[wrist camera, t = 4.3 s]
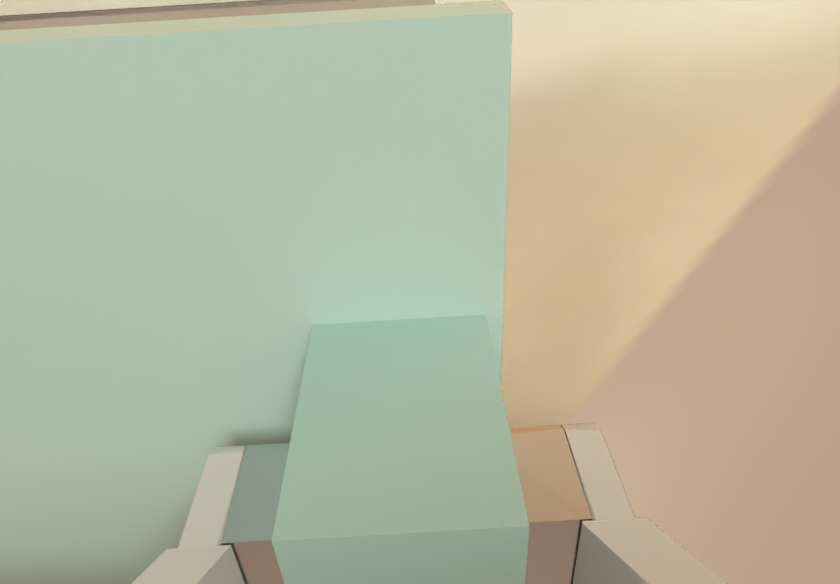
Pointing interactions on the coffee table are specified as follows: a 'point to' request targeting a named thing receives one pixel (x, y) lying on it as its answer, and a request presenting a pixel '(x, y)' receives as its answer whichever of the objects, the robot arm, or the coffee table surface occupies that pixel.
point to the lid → (259, 290)
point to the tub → (192, 12)
